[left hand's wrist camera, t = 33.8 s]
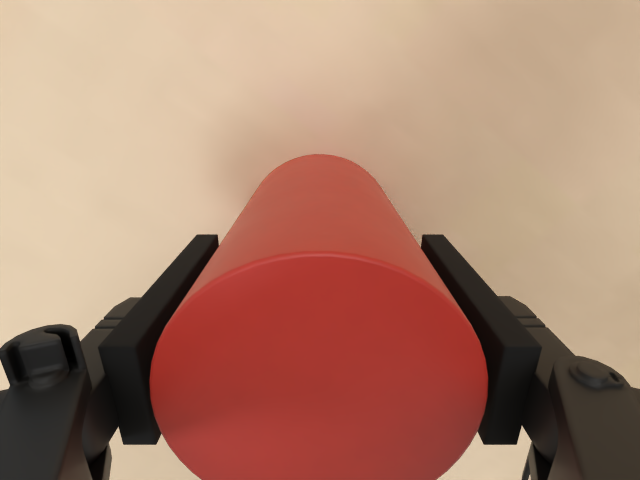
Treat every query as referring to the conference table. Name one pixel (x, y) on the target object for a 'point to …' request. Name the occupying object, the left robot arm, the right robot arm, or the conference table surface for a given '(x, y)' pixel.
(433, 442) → the canister
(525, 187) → the conference table surface
